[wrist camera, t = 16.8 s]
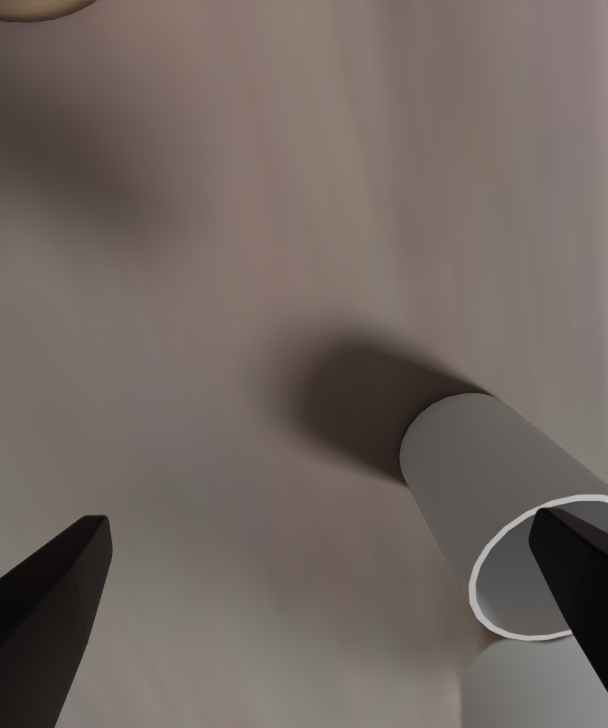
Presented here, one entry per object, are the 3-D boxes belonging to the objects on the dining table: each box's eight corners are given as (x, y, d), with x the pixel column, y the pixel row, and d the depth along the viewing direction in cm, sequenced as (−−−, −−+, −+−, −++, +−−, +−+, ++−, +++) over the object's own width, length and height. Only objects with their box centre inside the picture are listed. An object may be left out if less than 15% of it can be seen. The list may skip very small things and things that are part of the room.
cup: (464, 363, 22) (585, 457, 14) (568, 461, 25) (719, 587, 17) (370, 455, 24) (429, 590, 15) (479, 537, 27) (577, 687, 18)
